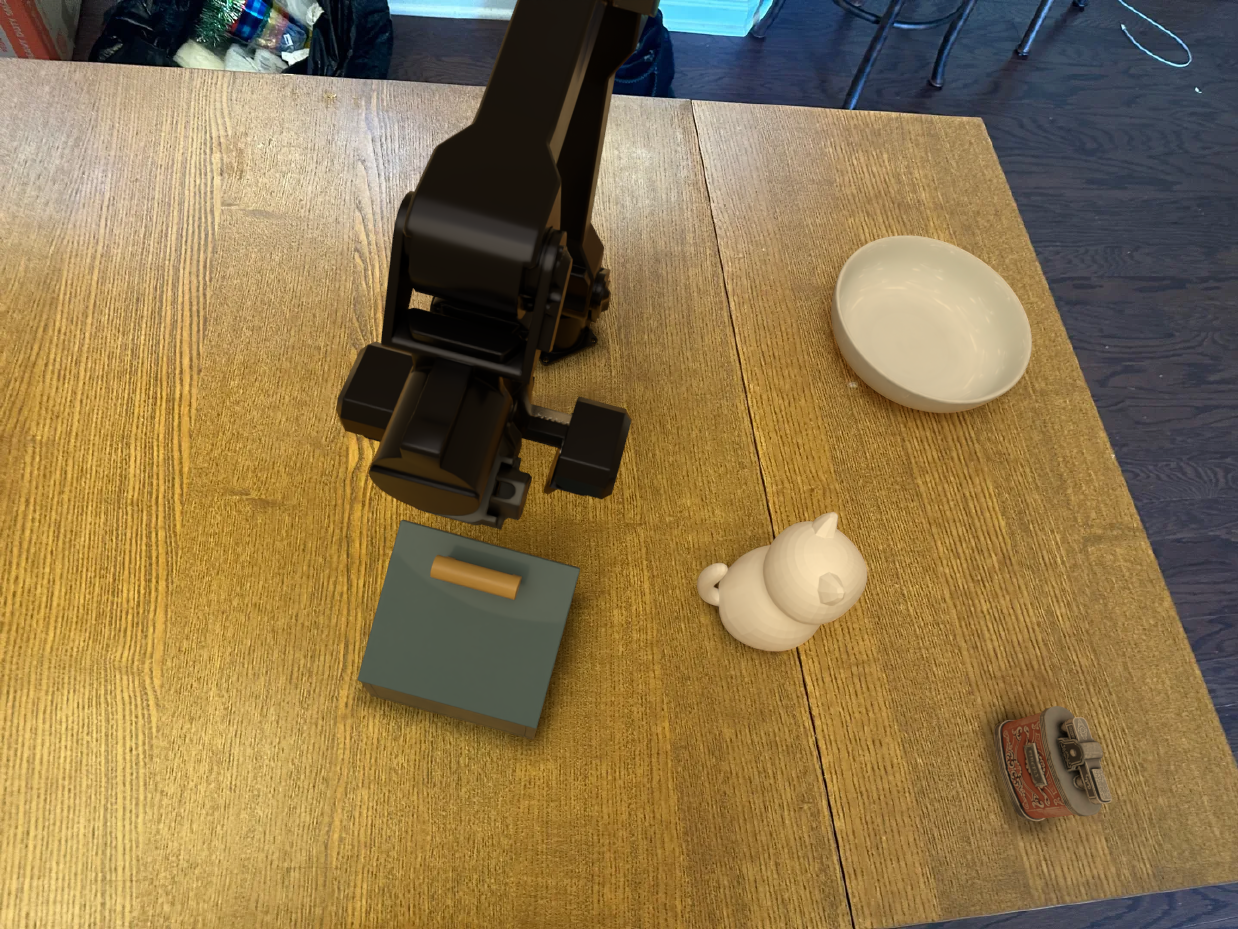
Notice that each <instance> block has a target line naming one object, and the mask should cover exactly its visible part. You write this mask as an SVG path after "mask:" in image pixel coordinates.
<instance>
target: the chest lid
mask: <svg viewBox="0 0 1238 929" xmlns="http://www.w3.org/2000/svg"><path fill="white" fill-rule="evenodd" d="M396 533H397V534H396V536H395V540H394V544H393V548H392V551H391V554H390V558H389V562H388V566H387V569H386V573H385V577H384V580H383V583H382V587H381V592H380V594H379V595H380V596H379V598H378V603H377V606H376V610H375V613H374V618H373V621H372V625H371V627H370V628H371V629H370V632H369V634H368V639H367V643H366V647H365V650H364V653H363V658H362V661H361V665H360V669H359V672H358V676H357V681H358V682H360V681H361V682H365V683H368V684H372V685H376V686H380V687H383V688H387V689H391V690H394V691H398V692H402V693H405V694H409V695H413V696H416V697H420V698H424V699H428V700H431V701H435V702H439V703H442V704H446V705H450V706H453V707H457V708H461V709H465V710H468V711H472V712H476V713H479V714H483V715H487V716H490V717H494V718H498V719H501V720H505V721H509V722H513V723H516V724H520V725H524V726H527V727H531V728H535V729H536V728H537V729H538V726H539V723H538V722H540V719H541V716H540V715H542V712H541V711H543V708H544V705H543V704H545V701H546V697H547V694H548V690H549V687H550V683H551V679H552V676H551V675H553V672H554V668H555V665H556V661H557V657H558V654H559V650H560V647H559V645H560V646H561V643H560V642H562V639H563V636H562V634H563V635H564V632H565V628H566V625H565V623H566V624H567V621H568V617H569V614H570V610H571V607H570V605H571V606H572V603H571V602H573V599H572V598H574V595H573V594H575V592H574V591H576V588H575V587H577V583H578V580H579V575H580V572H581V567H580V566H576V565H572V564H569V563H565V562H562V561H557V560H554V559H550V558H546V557H542V556H540V555H535V554H532V553H528V552H525V551H521V550H517V549H513V548H509V547H507V546H503V545H499V544H496V543H491V542H487V541H484V540H480V539H476V538H473V537H469V536H466V535H462V534H458V533H455V532H452V531H448V530H443V529H440V528H436V527H433V526H429V525H427V524H426V525H425V524H422V523H418V522H415V521H411V520H407V519H401V520H400V522H399V525H398V529H397V532H396ZM569 609H570V610H569ZM568 613H569V614H568ZM567 616H568V617H567ZM566 620H567V621H566ZM564 627H565V628H564ZM563 631H564V632H563ZM561 638H562V639H561ZM558 649H559V650H558ZM557 653H558V654H557ZM556 656H557V657H556ZM555 660H556V661H555ZM554 664H555V665H554ZM553 667H554V668H553ZM552 671H553V672H552ZM550 678H551V679H550ZM361 682H360V683H361ZM549 682H550V683H549ZM548 686H549V687H548ZM547 689H548V690H547ZM546 693H547V694H546ZM545 696H546V697H545ZM544 700H545V701H544ZM542 707H543V708H542ZM539 718H540V719H539Z"/></svg>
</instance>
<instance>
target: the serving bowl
mask: <svg viewBox="0 0 1238 929" xmlns="http://www.w3.org/2000/svg"><path fill="white" fill-rule="evenodd" d="M837 275H838V276H837V278H836V282H835V285H834V288H833V292H832V297H831V306H830V319H831V327H832V332H833V336H834V338H835V341H836V344H837V346H838V349H839V351H840V354H842V357H843V358H844V360H845V362H846V363H847V364H848V366H849V367H850V369H851V370H852V371H853V373H854V374H855V375H856V376H857V377H858V378H860V379H861V380H862V382H863V383H864V384H866V385H867V386H868V387H869V388H870V389H872V390H874V391H875V392H876V393H878V394H879V395H881V396H882V397H884V398H886V399H888V400H889V401H892V402H893V403H896V404H898V405H900V406H903V407H905V408H909V409H912V410H917V411H921V412H927V413H932V414H933V413H934V414H935V413H936V414H950V413H951V414H952V413H954V414H955V413H959V412H960V413H961V412H965V411H969V410H973V409H977V408H979V407H981V406H984V405H986V404H988V403H990V402H992V401H994V400H996V399H997V398H999V397H1001V396H1003V395H1004V394H1006V393H1008V392H1009V391H1010V390H1011V389H1012V388H1014V387H1015V386H1016V385H1017V383H1019V381H1020V380H1021V378H1023V376H1024V374H1025V372H1026V371H1027V368H1028V366H1029V363H1030V360H1031V356H1032V351H1033V335H1032V334H1033V333H1032V329H1031V325H1030V321H1029V318H1028V315H1027V312H1026V310H1025V308H1024V306H1023V305H1022V302H1021V301H1020V299H1019V297H1018V295H1017V294H1016V292H1015V291H1014V290H1013V288H1012V287H1011V286H1010V285H1009V284H1008V282H1007V281H1006V280H1005V279H1004V278H1003V277H1002V276H1001V275H1000V274H999V273H998V272H997V271H996V270H994V269H993V267H991V266H990V265H989V264H987V263H986V262H985V261H983V260H982V259H980V258H979V257H977V256H976V255H975V254H972V253H971V252H969V251H967V250H965V249H963V248H961V247H960V246H957V245H955V244H952V243H950V242H946V241H943V240H940V239H937V238H933V237H927V236H922V235H911V234H904V235H903V234H902V235H901V234H900V235H891V236H886V237H885V236H884V237H881V238H878V239H875V240H872V241H870V242H868V243H866V244H864V245H862V246H860V247H859V248H858V249H857V250H855V251H854V252H853V253H852V254H851V255H850V256H849V257H848V258H847V259H846V261H845V262H844V264H843V265H842V267H841V269H840V270H839V273H838V274H837Z"/></svg>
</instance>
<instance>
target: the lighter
mask: <svg viewBox="0 0 1238 929" xmlns="http://www.w3.org/2000/svg"><path fill="white" fill-rule="evenodd" d="M993 739H994V740H993V741H994V748H995V749H994V750H995V756H996V760H997V765H998V769H999V774H1000V776H1001V779H1002V782H1003V785H1004V788H1005V791H1006V793H1007V796H1008V798H1009V801H1010V802H1011V805H1012V807H1013V809H1014V812H1015V813H1016V815H1017V816H1018V817H1019V818H1021V820H1024V821H1026V822H1033V823H1034V822H1040V821H1044V820H1045V819H1048V818H1049V819H1050V818H1060V817H1069V816H1077V817H1083V818H1084V817H1091V816H1095V815H1097V814H1098V813H1100V811H1101V809H1102V805H1106V804H1110V803H1111V802H1112V800H1113V799H1112V798H1113V797H1112V794H1111V790H1110V788H1109V784H1108V781H1107V778H1106V776H1105V773H1104V769H1103V766H1102V759H1103V757H1104V752H1103V748H1102V745H1101V743H1100V742H1099V741H1097V740H1095V738H1094V737H1093V736H1092V732H1091V730H1090V727H1089V723H1088V720H1086V718H1084V717H1082V716H1076V717H1075V716H1074V714H1073V713H1072V711H1071V710H1069V709H1068V708H1066V707H1063V706H1061V705H1054V706H1050V707H1047V708H1045V709H1043V710H1042V711H1041V712H1039V713H1035V714H1030V715H1027V716H1025V717H1022V718H1018V719H1015V720H1014V719H1008V720H1003V721H1001V722H998V723H997V724H996V725H995V727H994V728H993Z"/></svg>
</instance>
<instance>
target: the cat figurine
mask: <svg viewBox="0 0 1238 929" xmlns="http://www.w3.org/2000/svg"><path fill="white" fill-rule="evenodd" d="M838 523H839V514H838V513H836V512H835V511H831V512H826V513H822V514H821V515H819V516H818V517H816V518H815V519H814V520H813V521H812V520H804V521H799V522H795V523H793V524H791V525H789V526H786V528H784V529H783V530H781V532H780V533H779V534H777V535H776V536H775V537H774V539H773V540H772V541H771V543H770V544H768V545H764V546H759V547H756V548H753V549H751V550H750V551H749V550H748V552H746V553H744V554H743V555H741V556H739V557H738V558H737V559H736V560H735V561H734V562H733V563H732V564H730V566H729V567H728V565H726V564H725V563H724V562H715V563H711V564H710V565H708V566H706V567H705V568H703V570H702V571H701V572H699V576H698V577H697V579H696V580H697V581H696V589H697V593H698V595H699V597H700V598H701V599H702V601H704V602H705V603H707V604H709V605H711V606H712V605H713V606H714V607H718V613H719V614H718V615H719V618H720V621H721V624H722V625H723V627H724V629H725V630H726V632H727V633H729V634H730V635H731V636H732V637H733V638H734V639H736V640H737V641H738V642H740V643H742V644H744V645H746V646H748V647H751V648H753V649H757V650H760V651H766V652H786V651H790V650H793V649H795V648H798V647H799V646H801V645H803V644H805V643H806V642H808V641H809V640H810V639H811V638H813V636H814V634H816V632H817V631H818V630H819V628H820V626H821V625H826V624H829V623H832V622H834V621H835V620H838V619H839V618H841V617H842V616H843V615H845V614H846V613H847V612H848V611H849V610H850V609H851V608H853V606H854V605H855V604H856V603H857V602H858V601H859V599H860V598H861V596H862V595H863V593H864V592H865V589H866V586H867V582H868V567H867V563H866V561H865V559H864V557H863V554H862V553H861V552H860V550H859V549H858V547H856V544H854V543H853V541H852V540H851V539H850V538H849V537H847V535H845V534H844V532H842V531H841V530H839V529H838ZM717 584H718V588H717V587H715V586H716V585H717Z"/></svg>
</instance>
